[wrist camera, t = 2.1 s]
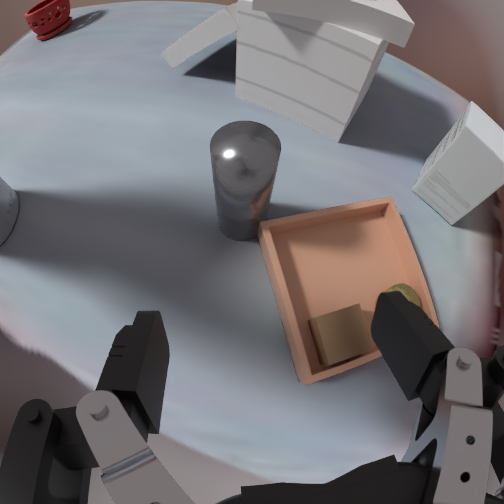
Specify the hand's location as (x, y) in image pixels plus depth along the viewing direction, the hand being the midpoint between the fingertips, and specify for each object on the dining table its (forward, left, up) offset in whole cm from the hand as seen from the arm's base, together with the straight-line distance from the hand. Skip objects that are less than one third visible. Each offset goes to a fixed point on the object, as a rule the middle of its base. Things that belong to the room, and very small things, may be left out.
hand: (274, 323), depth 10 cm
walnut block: (+7, -2, -14) cm, 16 cm away
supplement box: (+28, +10, -15) cm, 34 cm away
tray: (+10, +2, -15) cm, 18 cm away
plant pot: (-35, +84, -15) cm, 93 cm away
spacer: (+2, +11, -15) cm, 19 cm away
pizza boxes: (+12, +33, -15) cm, 39 cm away
